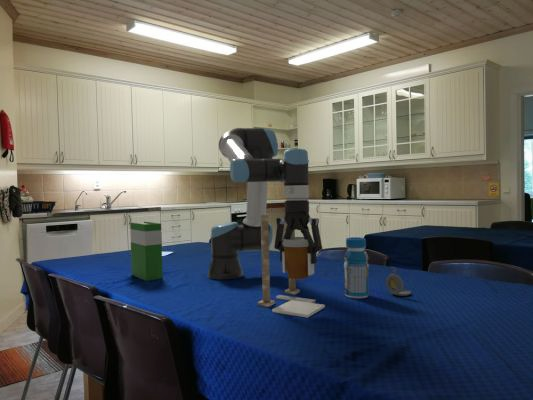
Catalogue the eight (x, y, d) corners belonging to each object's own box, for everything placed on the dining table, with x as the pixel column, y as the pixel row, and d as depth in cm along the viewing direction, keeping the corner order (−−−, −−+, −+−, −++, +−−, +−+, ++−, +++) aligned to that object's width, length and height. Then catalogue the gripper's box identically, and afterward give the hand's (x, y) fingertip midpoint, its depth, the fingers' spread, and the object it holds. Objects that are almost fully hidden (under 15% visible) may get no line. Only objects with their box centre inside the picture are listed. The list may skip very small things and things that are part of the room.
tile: (272, 311, 126) (272, 309, 126) (291, 302, 136) (291, 300, 136) (307, 317, 119) (307, 314, 119) (324, 307, 129) (324, 304, 129)
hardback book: (131, 274, 189) (130, 222, 188) (147, 272, 193) (145, 221, 193) (146, 280, 175) (144, 224, 174) (162, 278, 179) (161, 223, 179)
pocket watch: (410, 292, 145) (410, 264, 145) (410, 298, 138) (410, 268, 137) (386, 291, 148) (386, 263, 148) (385, 297, 140) (384, 267, 140)
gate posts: (258, 305, 133) (255, 215, 133) (290, 290, 152) (288, 212, 151) (268, 306, 131) (266, 216, 131) (299, 292, 150) (298, 212, 149)
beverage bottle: (355, 300, 137) (354, 240, 136) (339, 294, 144) (338, 238, 144) (374, 296, 141) (373, 238, 140) (358, 291, 148) (357, 236, 148)
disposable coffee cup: (312, 280, 122) (311, 240, 121) (280, 280, 123) (279, 240, 123) (315, 274, 131) (314, 236, 131) (285, 273, 133) (284, 236, 133)
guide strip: (273, 299, 139) (273, 297, 139) (279, 297, 143) (279, 294, 143) (310, 305, 132) (310, 302, 132) (315, 302, 135) (315, 299, 135)
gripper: (261, 200, 129) (263, 272, 130) (322, 199, 118) (324, 278, 118) (273, 199, 136) (275, 268, 136) (333, 198, 124) (334, 273, 125)
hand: (298, 273), depth 127 cm, fingers closed on disposable coffee cup, 8 cm apart
